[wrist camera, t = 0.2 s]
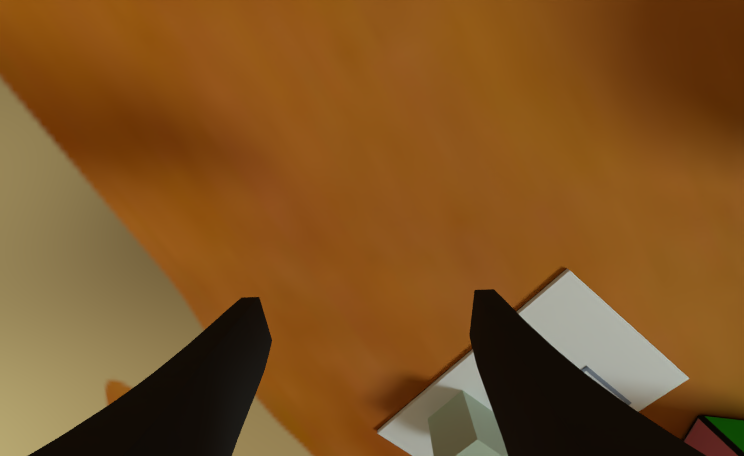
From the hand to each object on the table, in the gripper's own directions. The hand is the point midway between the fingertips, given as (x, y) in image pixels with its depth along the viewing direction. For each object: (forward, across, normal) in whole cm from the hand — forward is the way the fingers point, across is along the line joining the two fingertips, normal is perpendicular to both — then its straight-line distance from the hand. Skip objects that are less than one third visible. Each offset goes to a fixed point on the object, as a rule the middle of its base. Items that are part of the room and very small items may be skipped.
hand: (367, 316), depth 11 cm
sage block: (+8, -6, +18) cm, 21 cm away
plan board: (+8, -11, +18) cm, 22 cm away
